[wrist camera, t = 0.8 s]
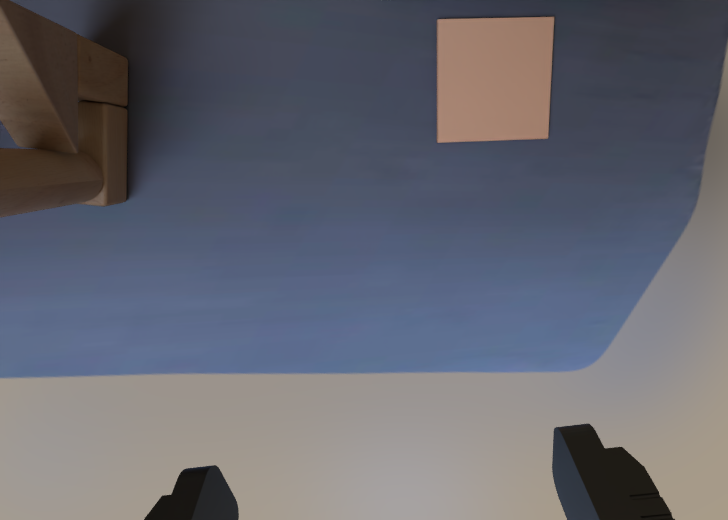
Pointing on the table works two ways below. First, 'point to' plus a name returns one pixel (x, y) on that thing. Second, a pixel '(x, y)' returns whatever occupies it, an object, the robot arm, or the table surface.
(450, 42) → the mat
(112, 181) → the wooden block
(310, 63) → the table surface
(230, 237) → the table surface
